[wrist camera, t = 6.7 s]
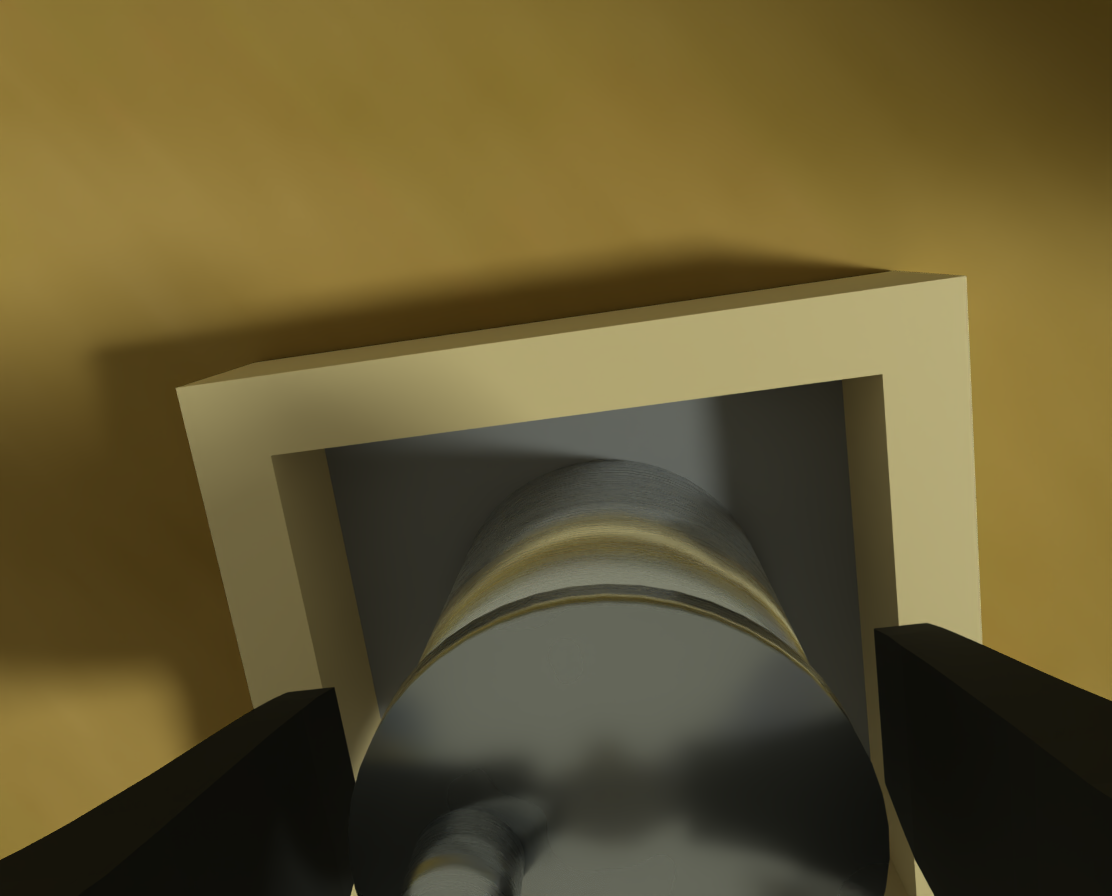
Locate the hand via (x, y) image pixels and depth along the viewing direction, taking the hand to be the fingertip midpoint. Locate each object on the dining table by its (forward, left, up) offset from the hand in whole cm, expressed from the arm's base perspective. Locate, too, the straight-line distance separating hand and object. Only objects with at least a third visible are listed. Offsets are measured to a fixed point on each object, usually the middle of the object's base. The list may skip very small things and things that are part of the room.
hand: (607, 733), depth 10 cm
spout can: (0, 0, -3) cm, 3 cm away
